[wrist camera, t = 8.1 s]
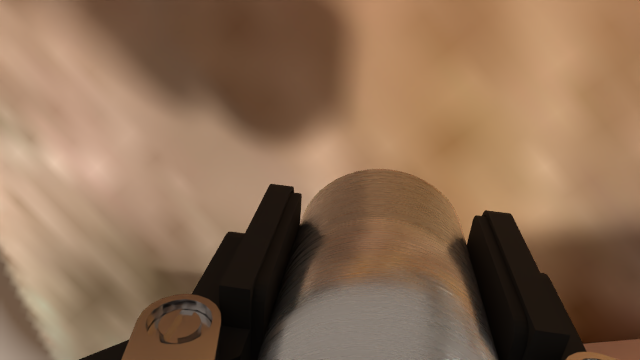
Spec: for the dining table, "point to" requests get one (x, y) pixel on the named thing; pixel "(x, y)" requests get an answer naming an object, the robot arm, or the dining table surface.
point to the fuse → (379, 278)
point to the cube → (617, 349)
